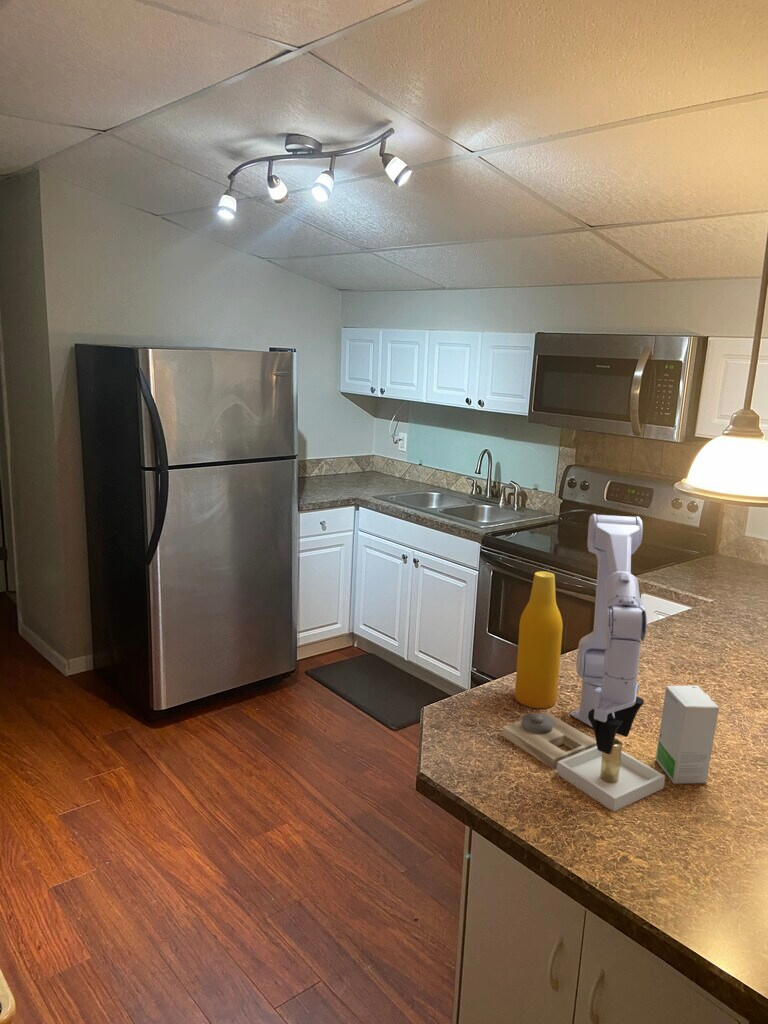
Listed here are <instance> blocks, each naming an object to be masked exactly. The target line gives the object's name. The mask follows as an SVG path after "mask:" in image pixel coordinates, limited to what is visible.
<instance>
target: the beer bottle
mask: <svg viewBox="0 0 768 1024" xmlns="http://www.w3.org/2000/svg"><path fill="white" fill-rule="evenodd" d="M556 600H557V599H556V577H555V573H552V572H549V571H544V570H543V571H542V570H541V571H536V572H535V573H534V576H533V582H532V586H531V593H530V597H529V600H528V602H527V604H526V606H525V607H524V609H523V610H522V613H521V615H520V619H519V628H518V629H519V630H518V631H519V632H518V646H517V658H516V660H517V661H516V673H515V685H514V695H515V699H516V700H517V702H518V703H519V704H522V705H523V706H524V707H528V708H533V709H547V708H551V707H553V706H554V705H555V704H556V703H557V700H558V694H559V691H558V690H559V689H558V688H559V677H560V675H559V674H560V665H561V663H560V662H561V651H562V639H563V619H562V616H561V612H560V610H559V608H558V605H557V601H556Z"/></svg>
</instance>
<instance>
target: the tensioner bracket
mask: <svg viewBox="0 0 768 1024" xmlns="http://www.w3.org/2000/svg"><path fill="white" fill-rule="evenodd" d="M501 733H502V734H501V736H502V737H503V738H505V739H507V740H508V741H510V742H511V743H513V744H514V745H516V746H517V747H519V748H520V749H521V750H523V751H524V752H527V753H528V754H529V755H531V756H532V757H534V758H535V759H537V761H540V762H542V763H543V764H544V765H546V766H547V767H549V768H551V769H552V770H555V769H557V762H558V761H560V760H563V759H565V758H568V757H570V756H573V755H575V754H578V753H580V752H583V751H585V750H588V749H590V748H593V747H595V746H597V743H596V739H594V738H592V737H590V736H589V735H587V734H586V733H584V732H583V731H580V730H578V729H577V728H575V727H573V726H571V725H570V724H568V723H566V722H564V721H562V720H561V719H559V718H558V717H557V716H555V715H553V714H552V713H549V712H547V711H545V712H544V711H543V712H541V713H528V714H525V715H524V716H523V717H522V718H521V720H518V721H516V722H513V723H510V724H506V725H504V726H502V732H501ZM562 745H564V746H566V747H568V748H569V749H570V750H567V751H565V750H563V749H561V748H559V747H560V746H562Z"/></svg>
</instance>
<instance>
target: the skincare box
mask: <svg viewBox="0 0 768 1024" xmlns="http://www.w3.org/2000/svg"><path fill="white" fill-rule="evenodd" d="M662 706H663V707H662V714H661V720H660V725H659V726H660V728H659V734H658V741H657V746H656V753H655V761H656V762H657V763H658V764H659V766H660V767H661V769H662V770H663V771H664V773H666V774H665V775H667V776H668V778H669V780H671V782H672V783H673V784H675V785H677V784H684V785H685V784H706V783H707V780H708V776H709V775H708V774H709V770H710V763H711V757H712V753H713V746H714V739H715V734H716V728H717V723H718V722H717V721H718V716H719V711H720V706H719V705H718V704H716V703H715V701H713V699H711V696H710V695H709V694H707V693H706V692H705V691H703V690H702V688H701V687H700V686H699V685H666V686H665V692H664V701H663V705H662Z"/></svg>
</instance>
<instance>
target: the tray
mask: <svg viewBox="0 0 768 1024" xmlns="http://www.w3.org/2000/svg"><path fill="white" fill-rule="evenodd" d="M601 762H602V752H601V751H599V750H598V748H597V746H595V747H593V748H590V749H588V750H585V751H583V752H580V753H578V754H575V755H573V756H570V757H568V758H565V759H563V760H560V761H558V762H557V768H556V775H557V776H558V777H560V778H561V779H564V780H565V781H567V782H568V783H569V784H571V785H572V786H573V787H575V788H577V789H578V790H580V791H582V792H583V793H584V794H586V795H588V796H589V797H591V798H592V799H593V800H595V801H596V802H598V803H600V804H601V805H603V806H604V807H606V808H607V809H609V810H611V811H612V812H613V813H614V812H617V811H619V810H621V809H623V808H625V807H627V806H629V805H632V804H633V803H636V802H637V801H639V800H642V799H643V798H646V797H648V796H650V795H652V794H654V793H656V792H658V791H661V790H663V789H664V788H665V787H664V786H665V782H666V781H665V779H666V774H663V773H661V772H659V771H658V770H656V769H654V768H653V767H651V766H649V765H647V764H646V763H644V762H643V761H640V760H638V759H637V758H635V757H633V756H632V755H630V754H628V753H626V752H625V751H623V750H622V751H621V761H620V770H619V780H618V782H617V783H607V782H604V781H603V780H601V778H600V772H601Z"/></svg>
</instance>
